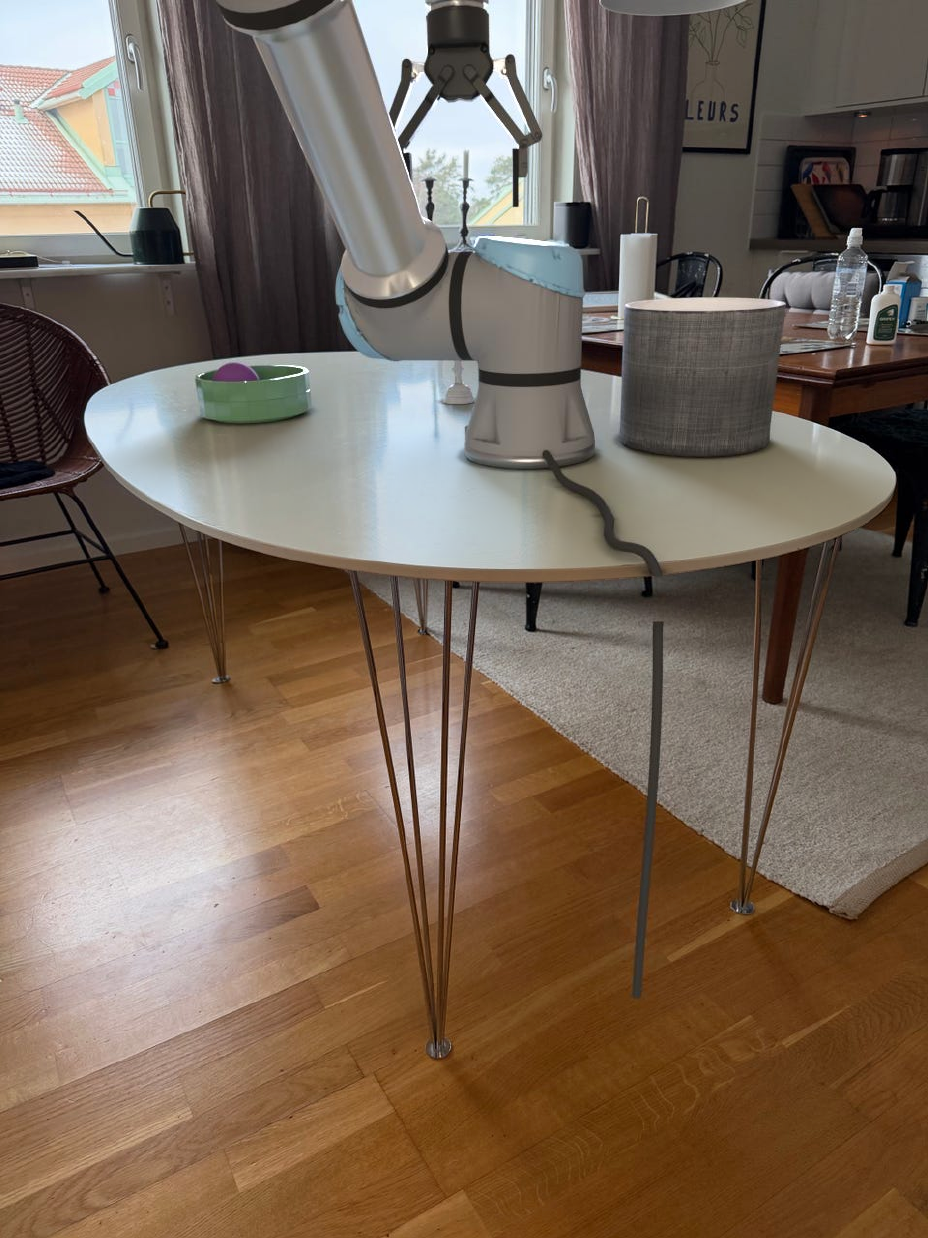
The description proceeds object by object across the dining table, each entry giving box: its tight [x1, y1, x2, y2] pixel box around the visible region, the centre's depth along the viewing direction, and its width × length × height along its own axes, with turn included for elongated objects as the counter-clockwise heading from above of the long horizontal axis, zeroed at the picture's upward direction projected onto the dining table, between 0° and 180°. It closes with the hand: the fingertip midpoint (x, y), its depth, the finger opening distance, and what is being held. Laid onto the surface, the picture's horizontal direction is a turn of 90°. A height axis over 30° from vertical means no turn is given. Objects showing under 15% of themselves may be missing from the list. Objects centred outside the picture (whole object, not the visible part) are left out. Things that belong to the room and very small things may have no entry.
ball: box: [213, 361, 259, 382], centre depth 127 cm, size 7×7×7 cm
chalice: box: [442, 361, 476, 405], centre depth 129 cm, size 7×7×18 cm
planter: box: [618, 297, 787, 458], centre depth 101 cm, size 18×18×16 cm
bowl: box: [194, 364, 313, 424], centre depth 127 cm, size 16×16×6 cm
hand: (462, 208), depth 110 cm, fingers open, 13 cm apart
